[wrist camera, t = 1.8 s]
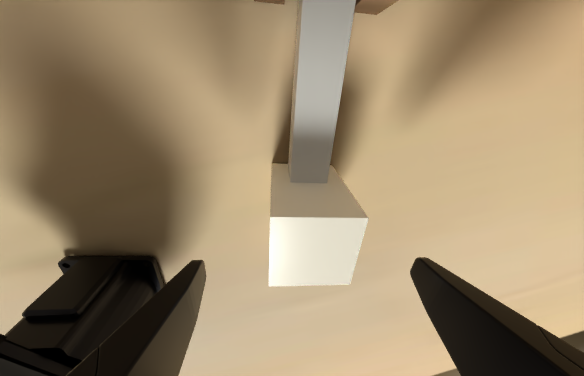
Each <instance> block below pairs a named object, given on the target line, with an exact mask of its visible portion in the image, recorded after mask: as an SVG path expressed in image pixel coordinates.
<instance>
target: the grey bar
mask: <svg viewBox="0 0 584 376" xmlns="http://www.w3.org/2000/svg"><path fill="white" fill-rule="evenodd" d="M355 3H356V0H298V13H297V29H296V45H295V62H294V78H293V94H292V110H291V127H290V143H289V159H288V164H278V163H272V173H271V207H270V248H269V286H313V285H350V282H351V279H352V275H353V272H354V268H355V265H356V261H357V258H358V254H359V251H360V247H361V243H362V240H363V236H364V233H365V229H366V226H367V222H368V219H369V218H368V216H367V215H366V214H365V212H364V211H363V209H362V208H361V206H360V205H359V203H358V202H357V201H356V199H355V198H354V196H353V195H352V193H351V192H350V190H349V189H348V188H347V186H346V185H345V183H344V182H343V180H342V179H341V177H340V176H339V175H338V173H337V172H336V170H335V169H334V167H333V166H332V165H330V161H331V155H332V149H333V142H334V136H335V130H336V123H337V117H338V110H339V104H340V98H341V91H342V85H343V79H344V72H345V66H346V60H347V53H348V47H349V41H350V34H351V28H352V22H353V15H354V9H355Z"/></svg>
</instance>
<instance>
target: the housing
mask: <svg viewBox="0 0 584 376" xmlns="http://www.w3.org/2000/svg"><path fill="white" fill-rule="evenodd" d="M254 1H258V2H267V3H276V4H284V0H254ZM397 1H398V0H356V3H355V9H354V12H357V13H366V14H375V15H377V14H378V13H380V12H381V11H383V10H384V9H386V8H388V7H389V6H391V5H392V4H394V3H395V2H397Z"/></svg>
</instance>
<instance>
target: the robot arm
mask: <svg viewBox="0 0 584 376" xmlns="http://www.w3.org/2000/svg"><path fill="white" fill-rule="evenodd" d="M58 265H59V267H60V269H61V270H62V272H63V274H64V275H62V276H61V277H60V278H59V279H58V280H57V281H56V282H55V283H54V284H53V285H52V286H50V287H49V288H48V289H47V290H46V291H45V292H44V293H43V294H42V295H41V296H40V297H38V298H37V299H36V300H35V301H34V302H33V303H32V304H31V305H30V306H29V307H27V308H26V309H25V311H24V312H23V313H22V316H23V317H24V318H22V319H21V320H20V321H19V322H18V323H17V324H16V325H15V326H14V327H13V328H12V329H11V330H10V331H9V332H8V333H7V334H5V335H2V334H0V376H178V375H179V372H180V369H181V366H182V363H183V360H184V357H185V354H186V351H187V348H188V345H189V342H190V339H191V336H192V333H193V330H194V327H195V324H196V321H197V317H198V313H199V308H200V304H201V299H202V295H203V290H204V286H205V282H206V271H205V265H204V261H203V260H192V261H191V262H190V263H189V264H187V265H186V266H185V267H184V268H183V269H182V270H181V271H180V272H179V273H178V274H177V275H175V276H174V277H173V278H172V279H171V280H170V281H169V282H168V283H167V284H166V285H165V286H164V285H163V281H162V278H161V275H160V272H159V269H158V265H157V262H156V260H155V258H153V257H151V256H67V257H64V258H63V259H62V260H61V261H59V263H58ZM410 274H411V278H412V280H413V282H414V285H415V287H416V289H417V291H418V294H419V296H420V298H421V301H422V303H423V305H424V307H425V310H426V312H427V314H428V316H429V318H430V319H431V321H432V323H433V325H434V327H435V329H436V331H437V332H438V334H439V336H440V338H441V340H442V342H443V343H444V345H445V347H446V349H447V351H448V353H449V354H450V356H451V358H452V360H453V362H454V364H455V366H456V367H457V369H458V371H459V373H460V375H461V376H584V352H582V351H580V350H578V349H576V348H575V347H573V346H572V345H570V344H568V343H566V342H565V341H563V340H561V339H560V338H558V337H557V336H555V335H553V334H552V333H550V332H548V331H547V330H545V329H543V328H542V327H540V326H538V325H536V324H535V323H534V322H532V321H530V320H529V319H527V318H525V317H524V316H522V315H520V314H519V313H517V312H515V311H514V310H512V309H511V308H509V307H507V306H506V305H504V304H502V303H501V302H499V301H497V300H496V299H494V298H493V297H491V296H489V295H488V294H486V293H484V292H483V291H481V290H479V289H478V288H476V287H474V286H473V285H471V284H470V283H468V282H466V281H465V280H463V279H461V278H460V277H458V276H456V275H455V274H453V273H451V272H450V271H448V270H447V269H445V268H443V267H442V266H440V265H438V264H437V263H435V262H433V261H432V260H430V259H429V258H425V257H419V258H416V259H415V261H414V264H413V266H412V268H411V271H410Z"/></svg>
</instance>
